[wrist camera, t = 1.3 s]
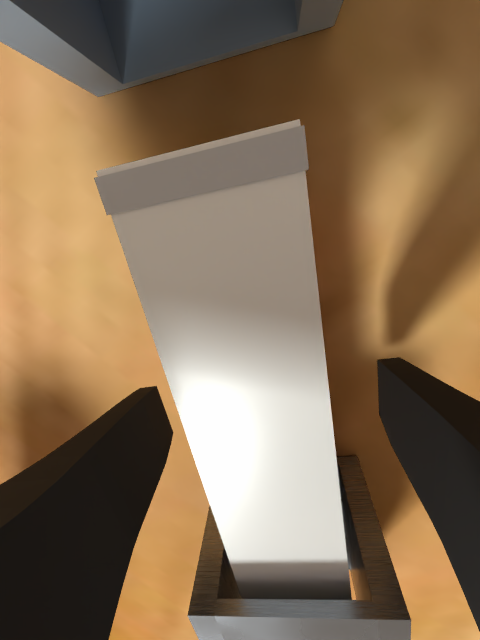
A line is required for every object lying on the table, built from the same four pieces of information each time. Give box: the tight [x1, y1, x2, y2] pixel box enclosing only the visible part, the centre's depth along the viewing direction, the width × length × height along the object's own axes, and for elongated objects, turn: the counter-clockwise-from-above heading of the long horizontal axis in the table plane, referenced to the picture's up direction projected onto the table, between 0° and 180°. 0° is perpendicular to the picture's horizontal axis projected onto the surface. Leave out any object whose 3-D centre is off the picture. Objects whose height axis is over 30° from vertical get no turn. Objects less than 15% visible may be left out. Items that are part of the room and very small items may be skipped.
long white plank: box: [94, 119, 352, 600], centre depth 10 cm, size 4×19×4 cm, turn 12°
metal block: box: [188, 456, 411, 640], centre depth 12 cm, size 6×7×5 cm
